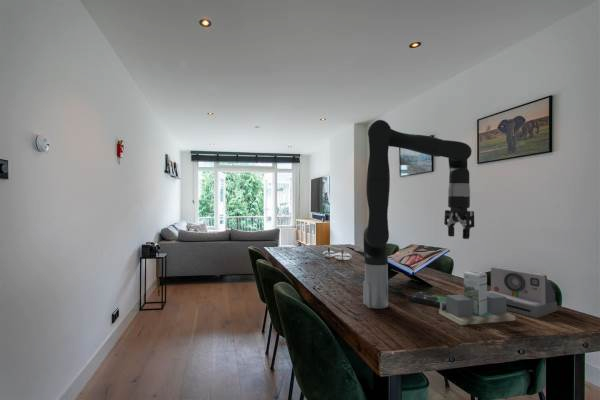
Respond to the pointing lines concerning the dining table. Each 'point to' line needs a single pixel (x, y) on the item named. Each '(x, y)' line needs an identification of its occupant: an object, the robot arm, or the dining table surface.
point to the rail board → (479, 319)
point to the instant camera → (524, 291)
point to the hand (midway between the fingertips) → (458, 237)
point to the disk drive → (427, 299)
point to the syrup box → (476, 290)
